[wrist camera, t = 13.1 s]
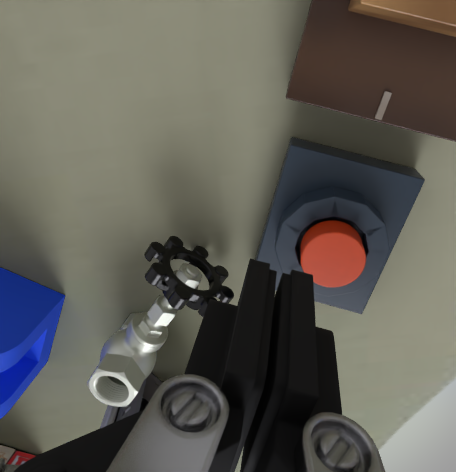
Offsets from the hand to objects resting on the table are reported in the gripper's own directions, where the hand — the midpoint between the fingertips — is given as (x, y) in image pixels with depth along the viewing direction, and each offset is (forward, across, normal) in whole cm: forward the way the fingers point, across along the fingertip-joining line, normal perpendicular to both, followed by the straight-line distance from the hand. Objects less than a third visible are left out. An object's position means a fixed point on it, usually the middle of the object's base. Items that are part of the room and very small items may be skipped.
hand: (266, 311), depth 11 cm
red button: (+13, -4, +4) cm, 15 cm away
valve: (+17, +6, +14) cm, 23 cm away
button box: (+17, -4, +4) cm, 18 cm away
